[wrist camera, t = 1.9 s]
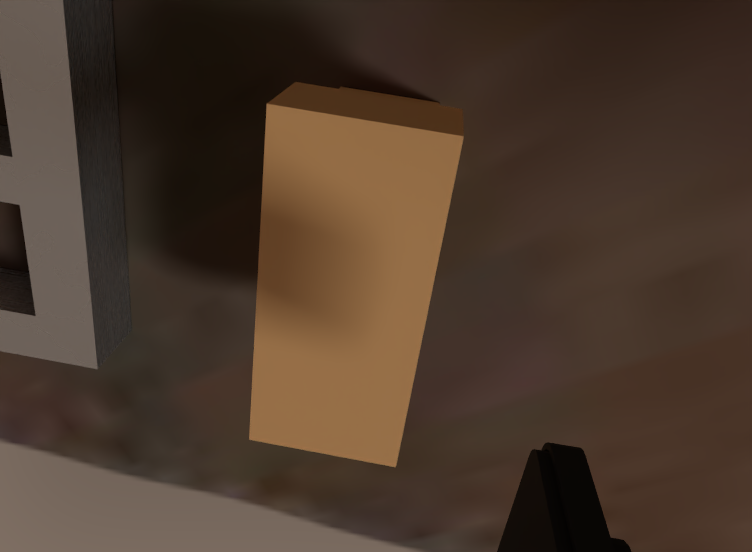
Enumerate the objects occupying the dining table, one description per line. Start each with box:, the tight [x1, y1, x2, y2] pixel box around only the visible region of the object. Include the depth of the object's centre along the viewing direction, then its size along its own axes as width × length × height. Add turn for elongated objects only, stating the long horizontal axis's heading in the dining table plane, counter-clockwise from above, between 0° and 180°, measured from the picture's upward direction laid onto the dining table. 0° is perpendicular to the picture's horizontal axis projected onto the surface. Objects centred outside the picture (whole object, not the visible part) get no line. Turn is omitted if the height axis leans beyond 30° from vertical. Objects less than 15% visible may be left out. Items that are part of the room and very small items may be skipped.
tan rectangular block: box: [249, 82, 464, 467], centre depth 17 cm, size 4×9×6 cm, turn 172°
